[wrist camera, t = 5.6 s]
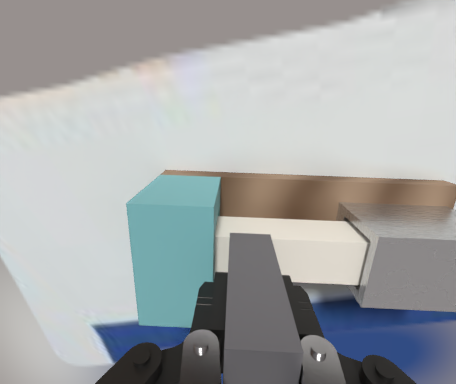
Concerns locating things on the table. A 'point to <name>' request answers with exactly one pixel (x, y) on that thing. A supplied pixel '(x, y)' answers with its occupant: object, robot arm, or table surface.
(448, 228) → the grey speckled block
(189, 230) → the socket
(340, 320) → the table surface
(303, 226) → the sliding bolt
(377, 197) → the board
